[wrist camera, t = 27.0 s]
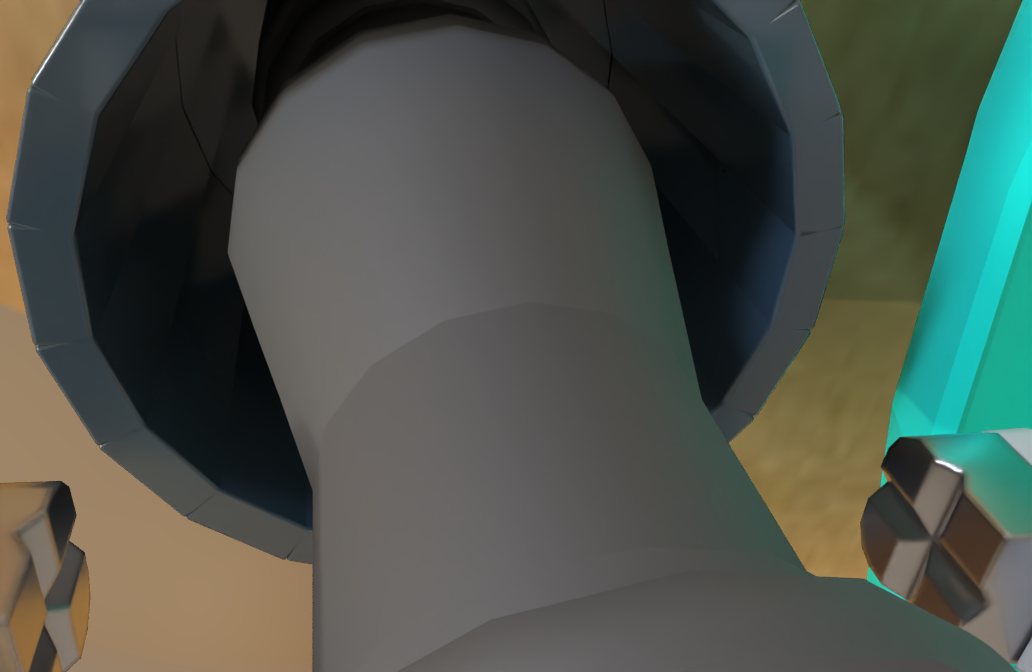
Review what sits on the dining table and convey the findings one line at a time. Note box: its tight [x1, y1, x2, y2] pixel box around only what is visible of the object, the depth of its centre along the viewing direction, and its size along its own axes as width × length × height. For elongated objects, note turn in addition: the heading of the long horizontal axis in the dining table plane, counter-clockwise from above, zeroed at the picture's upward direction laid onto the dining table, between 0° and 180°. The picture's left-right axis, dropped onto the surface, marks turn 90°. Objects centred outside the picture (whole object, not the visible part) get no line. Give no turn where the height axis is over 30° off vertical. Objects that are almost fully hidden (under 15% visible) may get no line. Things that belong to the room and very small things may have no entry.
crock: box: [6, 0, 845, 564], centre depth 17 cm, size 12×12×11 cm
